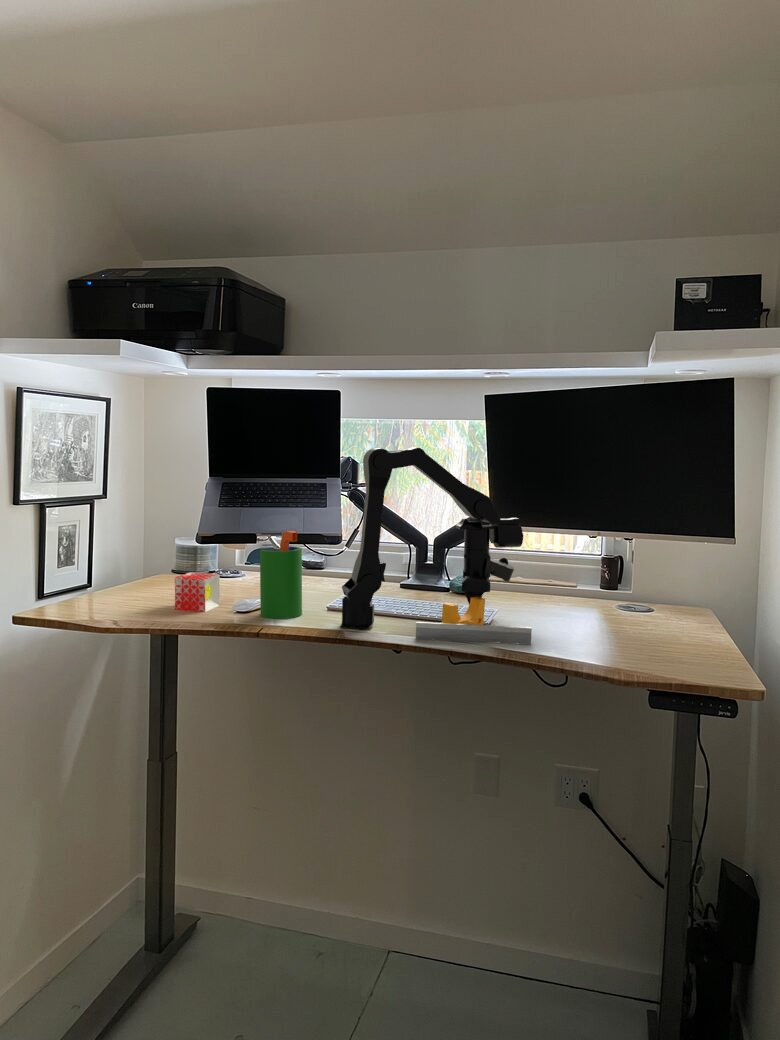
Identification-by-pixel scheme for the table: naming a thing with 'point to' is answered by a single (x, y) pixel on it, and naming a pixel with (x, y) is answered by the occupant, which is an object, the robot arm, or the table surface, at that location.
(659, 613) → the table surface
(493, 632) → the rail
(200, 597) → the puzzle cube
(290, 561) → the cup with straw
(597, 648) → the table surface
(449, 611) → the pipe clamp
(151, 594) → the table surface
